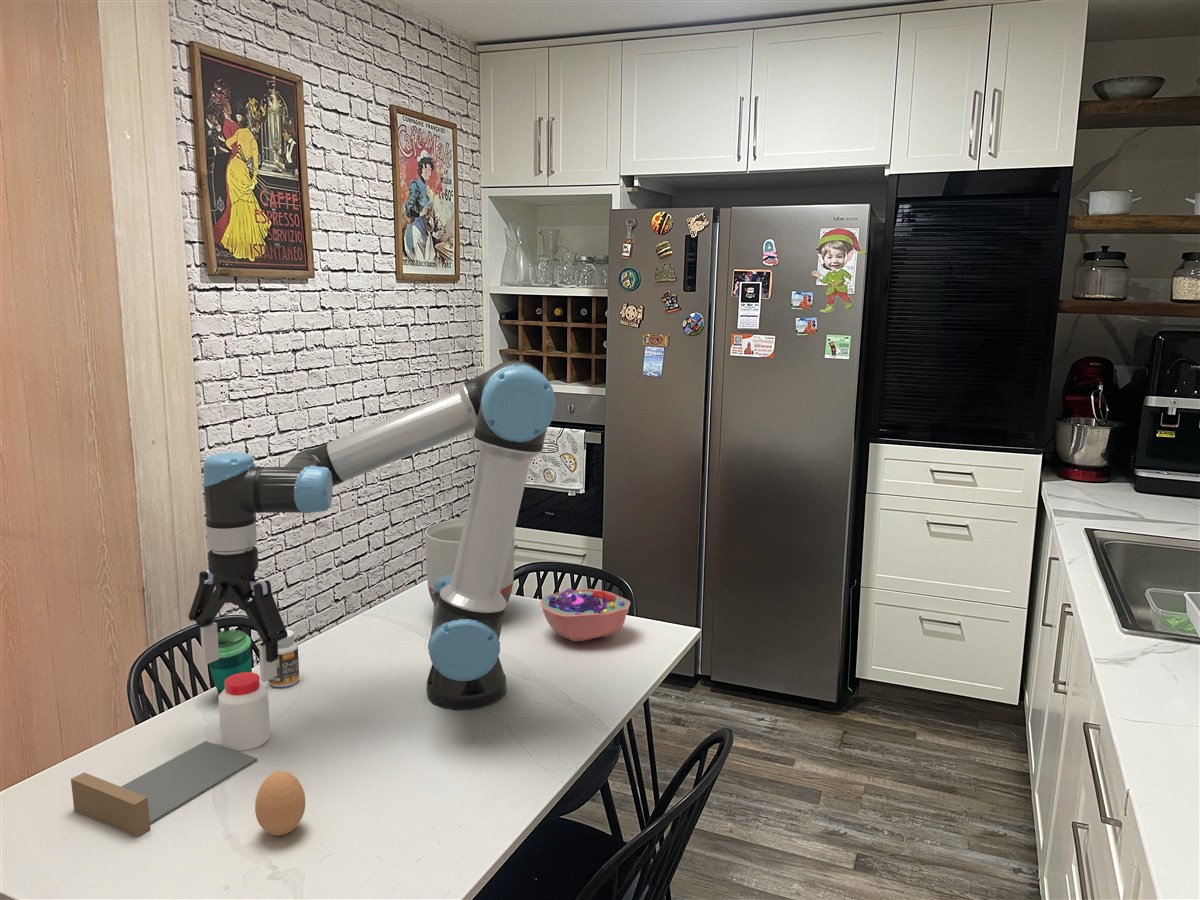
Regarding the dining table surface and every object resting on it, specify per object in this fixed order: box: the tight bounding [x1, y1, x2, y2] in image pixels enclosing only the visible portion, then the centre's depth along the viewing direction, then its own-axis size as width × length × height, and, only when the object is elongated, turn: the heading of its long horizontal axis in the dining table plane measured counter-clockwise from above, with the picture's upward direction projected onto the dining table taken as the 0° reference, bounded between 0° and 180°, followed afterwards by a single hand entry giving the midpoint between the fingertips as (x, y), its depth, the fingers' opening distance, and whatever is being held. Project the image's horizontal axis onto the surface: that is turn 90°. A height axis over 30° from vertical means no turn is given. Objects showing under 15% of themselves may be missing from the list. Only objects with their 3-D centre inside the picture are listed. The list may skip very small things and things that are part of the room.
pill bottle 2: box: [268, 629, 300, 688], centre depth 167 cm, size 6×6×10 cm
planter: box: [424, 518, 515, 604], centre depth 200 cm, size 20×20×21 cm
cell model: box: [540, 587, 631, 642], centre depth 190 cm, size 17×20×11 cm
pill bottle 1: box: [217, 671, 271, 752], centre depth 145 cm, size 8×8×11 cm
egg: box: [254, 770, 306, 837], centre depth 121 cm, size 7×7×9 cm
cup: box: [208, 629, 253, 696], centre depth 161 cm, size 8×8×12 cm
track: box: [70, 740, 258, 838], centre depth 132 cm, size 14×22×5 cm, turn 154°
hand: (239, 670), depth 144 cm, fingers open, 13 cm apart
